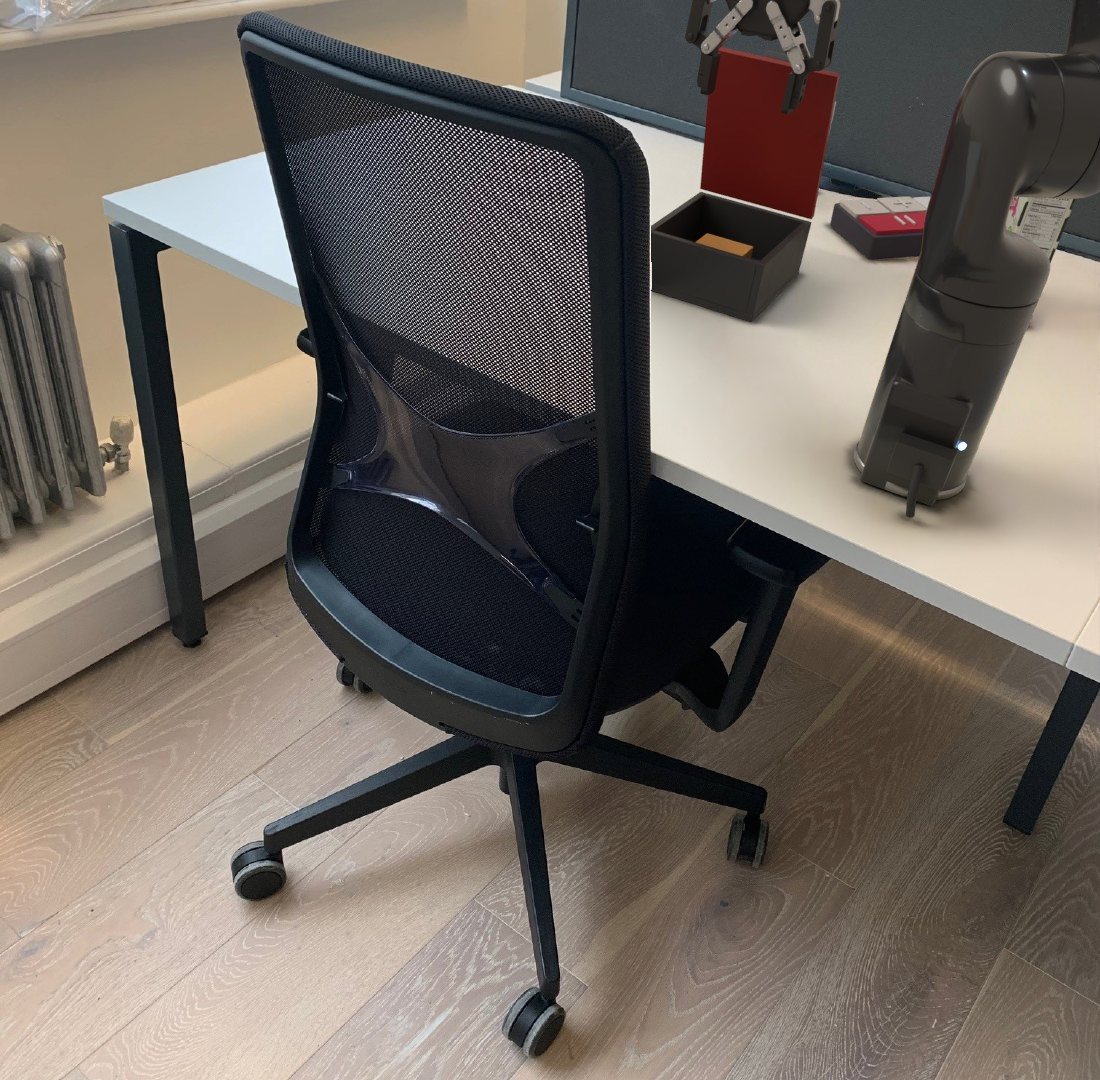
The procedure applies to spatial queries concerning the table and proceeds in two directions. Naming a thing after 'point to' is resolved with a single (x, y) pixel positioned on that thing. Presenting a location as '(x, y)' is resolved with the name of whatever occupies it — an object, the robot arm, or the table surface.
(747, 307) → the open black box
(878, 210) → the calculator
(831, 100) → the box lid
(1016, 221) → the candy bar box
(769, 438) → the table surface
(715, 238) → the sandwich
